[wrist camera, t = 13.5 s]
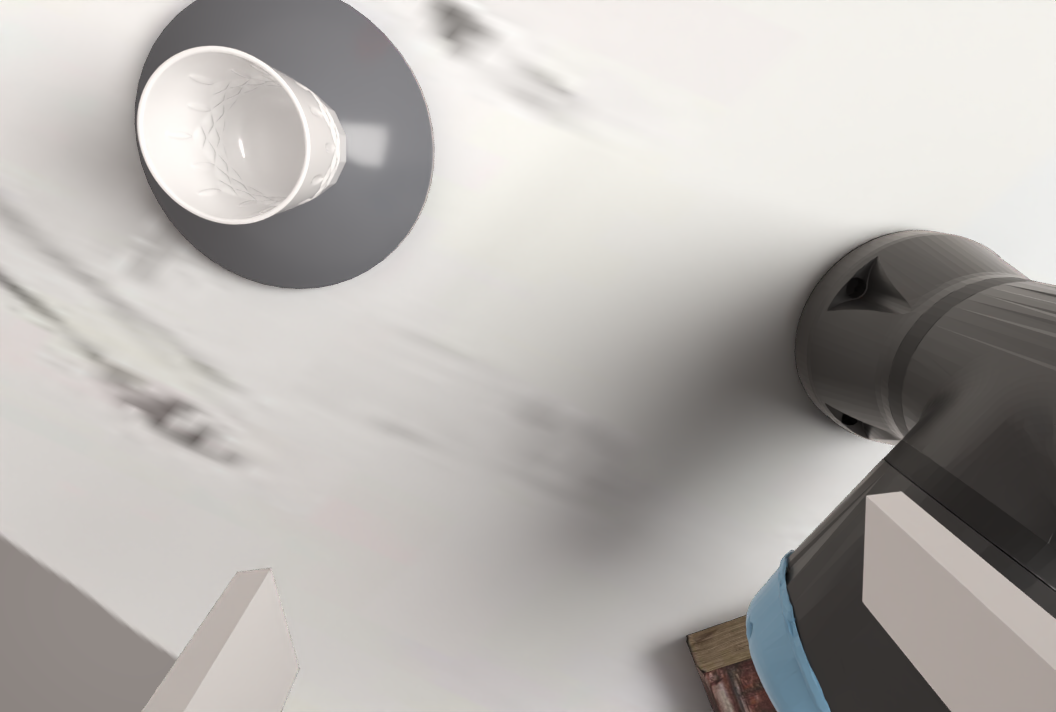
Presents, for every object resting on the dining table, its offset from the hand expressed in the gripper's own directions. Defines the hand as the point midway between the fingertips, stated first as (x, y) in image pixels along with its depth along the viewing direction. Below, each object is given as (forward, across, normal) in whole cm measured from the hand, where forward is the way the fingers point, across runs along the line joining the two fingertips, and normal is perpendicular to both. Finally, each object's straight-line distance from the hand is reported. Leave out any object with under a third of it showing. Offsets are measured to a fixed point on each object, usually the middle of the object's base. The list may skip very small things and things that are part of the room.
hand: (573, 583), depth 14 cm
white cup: (+29, +14, -12) cm, 35 cm away
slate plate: (+31, +14, -12) cm, 36 cm away
